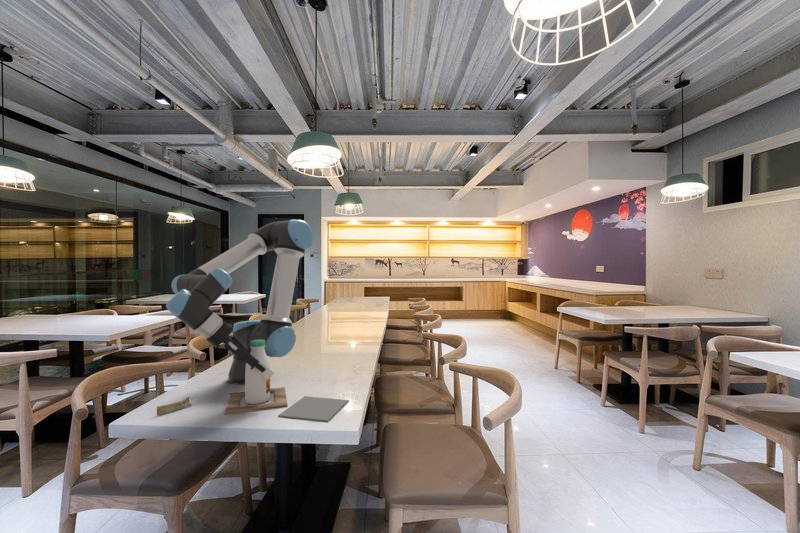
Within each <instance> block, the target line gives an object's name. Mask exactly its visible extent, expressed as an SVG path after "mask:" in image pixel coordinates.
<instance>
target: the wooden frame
mask: <svg viewBox="0 0 800 533" xmlns="http://www.w3.org/2000/svg"><path fill="white" fill-rule="evenodd" d="M270 394H274V399H275V402H273V401H272V402H265V403H260V404H249V405H244V406H240V402H241V398H245V390H244V391H238V392H237V391H236V392H230V394H229V397H228V400H227V403H226V404H227V405H226V408H225V412H224V415H225V416H228V415H234V414H242V413H248V412H256V411H258V412H259V411H263V410H271V409H278V408H284V407H285V408H286V407H288V400H287V393H286V387H285V386H282V387H281V386H280V387H270ZM227 414H228V415H227Z"/></svg>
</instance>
